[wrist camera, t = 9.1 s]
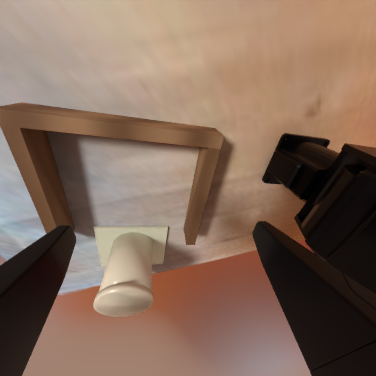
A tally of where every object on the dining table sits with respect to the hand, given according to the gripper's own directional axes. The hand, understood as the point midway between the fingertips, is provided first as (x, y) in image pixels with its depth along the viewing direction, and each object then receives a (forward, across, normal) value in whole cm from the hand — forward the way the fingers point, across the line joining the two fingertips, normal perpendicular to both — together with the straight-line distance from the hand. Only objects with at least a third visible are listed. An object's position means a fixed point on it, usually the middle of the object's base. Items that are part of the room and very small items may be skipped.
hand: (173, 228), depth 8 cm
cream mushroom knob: (+12, +4, +17) cm, 21 cm away
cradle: (+12, +4, +5) cm, 13 cm away
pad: (+12, +4, +16) cm, 21 cm away
